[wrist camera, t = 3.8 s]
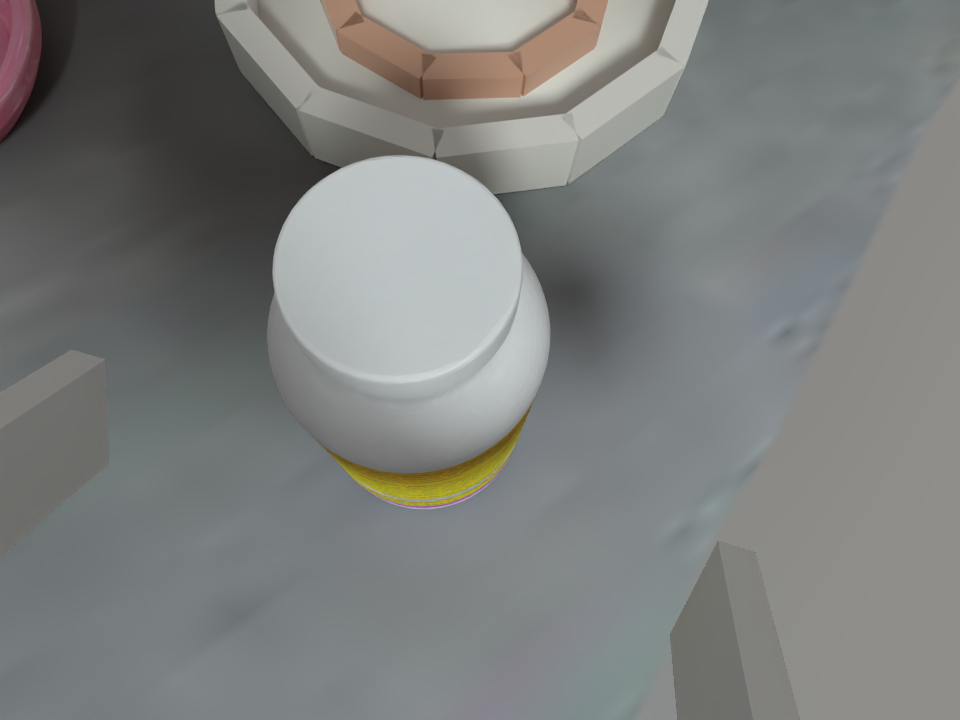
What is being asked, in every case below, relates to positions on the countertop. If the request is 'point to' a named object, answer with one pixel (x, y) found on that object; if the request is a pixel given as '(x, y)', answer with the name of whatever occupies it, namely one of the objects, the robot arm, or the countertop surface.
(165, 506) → the countertop surface
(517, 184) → the ceramic tray
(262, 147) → the countertop surface
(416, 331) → the supplement bottle
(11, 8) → the saucer
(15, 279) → the countertop surface
